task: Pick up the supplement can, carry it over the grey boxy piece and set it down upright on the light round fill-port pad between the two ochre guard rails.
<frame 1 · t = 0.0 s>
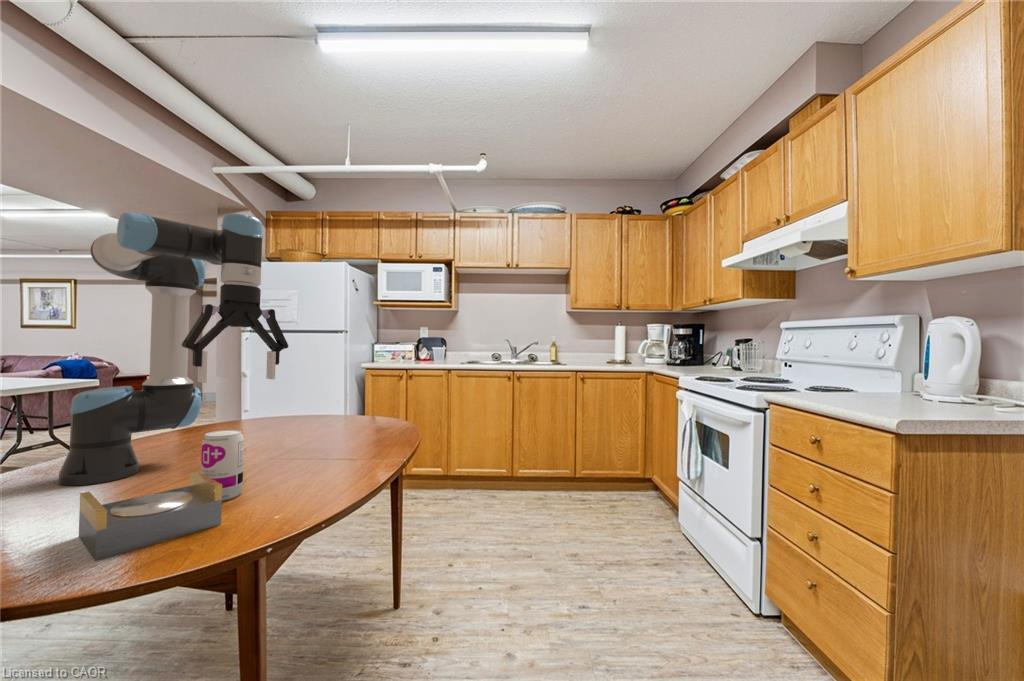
hand: (238, 380, 92), 28 cm above the table, fingers open, 13 cm apart
supplement can: (221, 497, 98), on the table
grey boxy piece: (152, 530, 80), on the table
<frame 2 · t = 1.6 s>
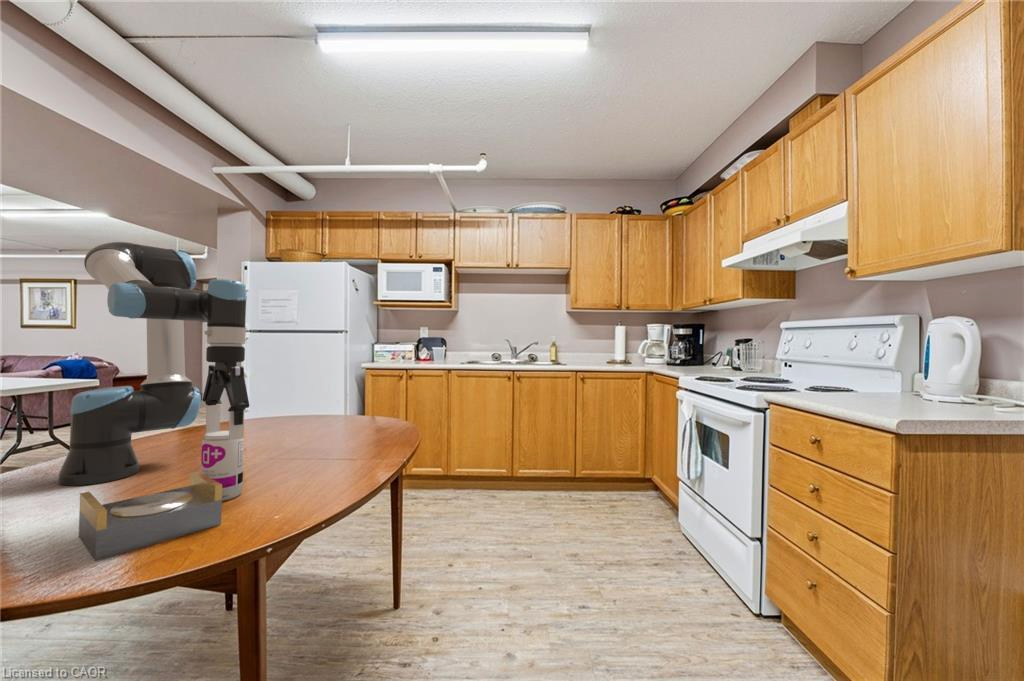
hand: (224, 435, 98), 14 cm above the table, fingers open, 13 cm apart
nothing on the table moved.
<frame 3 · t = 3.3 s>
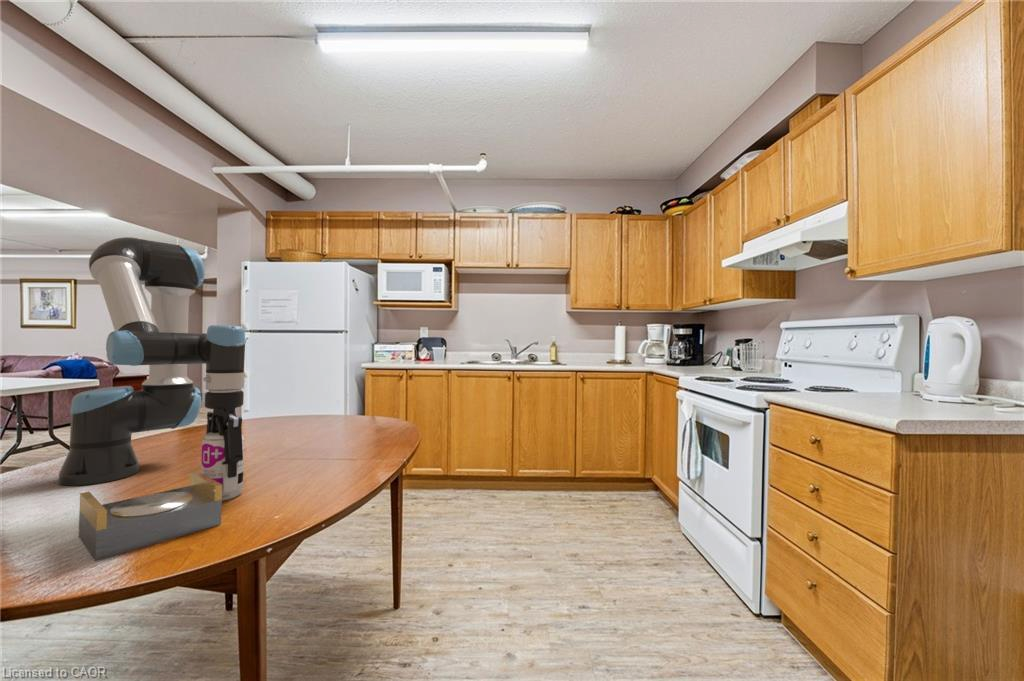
hand: (222, 486, 98), 2 cm above the table, fingers closed on supplement can, 8 cm apart
supplement can: (221, 497, 98), on the table, touching gripper
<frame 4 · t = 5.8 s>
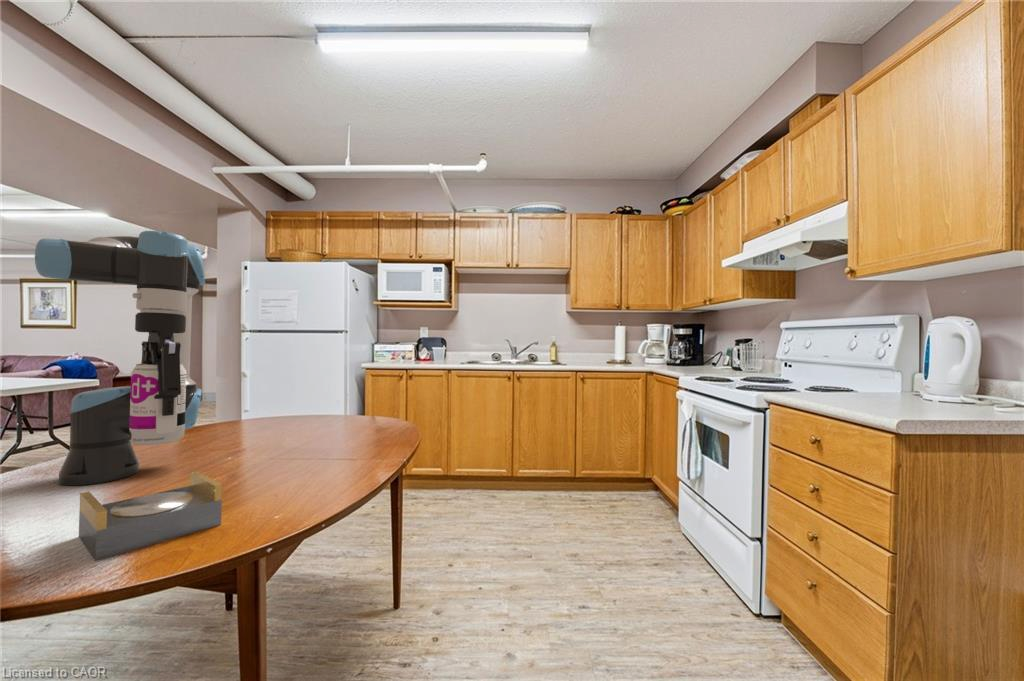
hand: (157, 429, 80), 19 cm above the table, fingers closed on supplement can, 8 cm apart
supplement can: (157, 442, 80), point 17 cm above the table, touching gripper
when the fingers open (8 cm above the table, at t = 8.7 s): supplement can stays where it is, resting on grey boxy piece.
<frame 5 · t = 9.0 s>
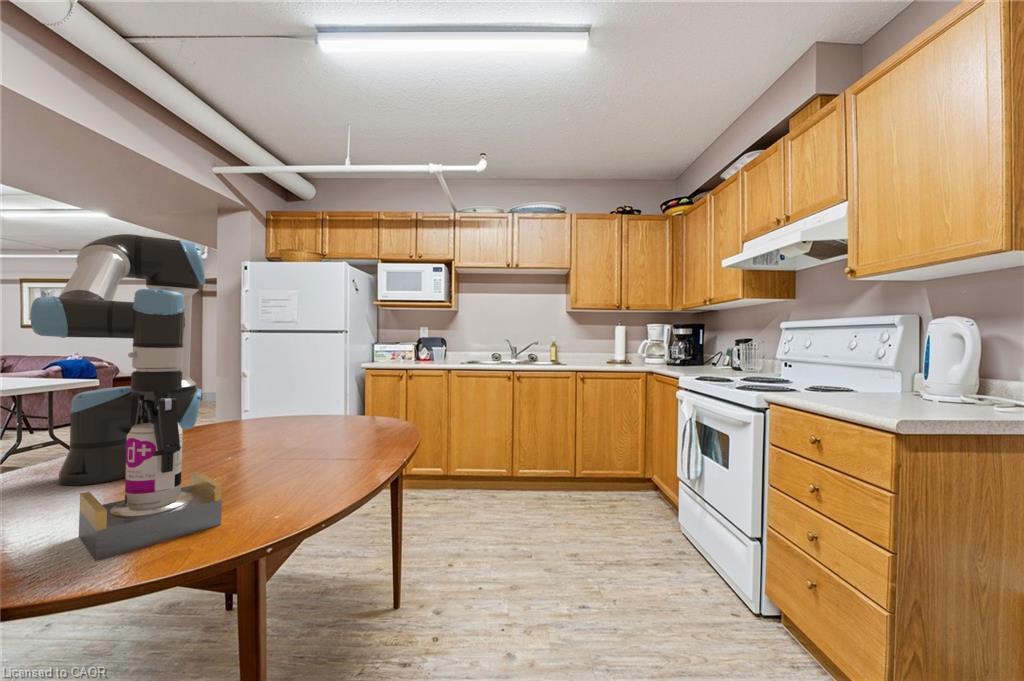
hand: (154, 481, 80), 9 cm above the table, fingers open, 12 cm apart
supplement can: (153, 503, 80), point 5 cm above the table, touching grey boxy piece
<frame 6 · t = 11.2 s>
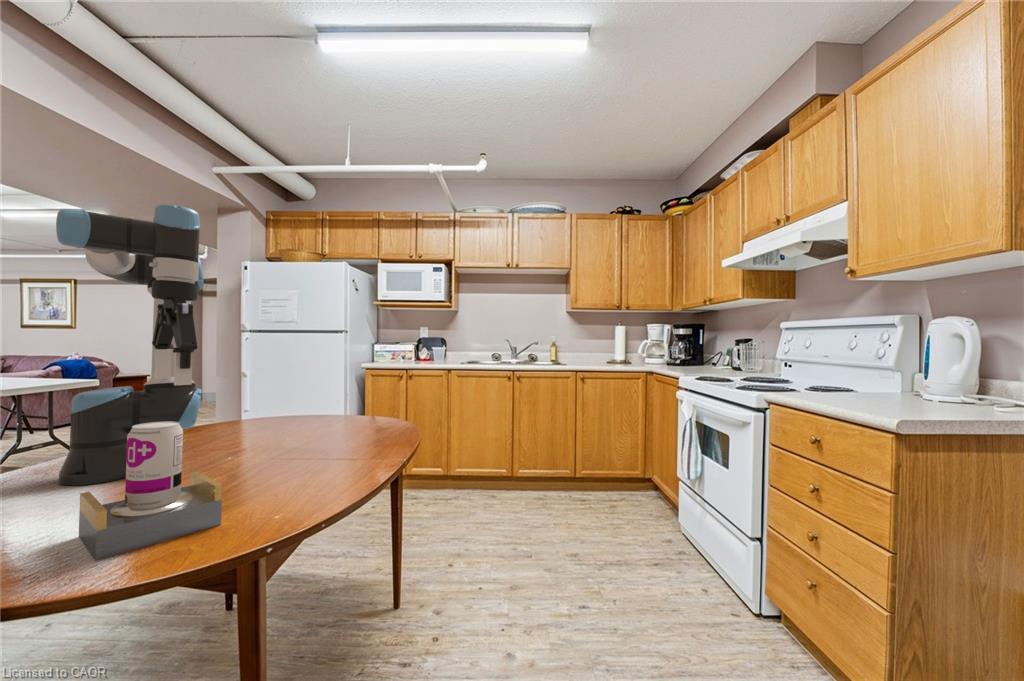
hand: (172, 381, 88), 28 cm above the table, fingers open, 13 cm apart
nothing on the table moved.
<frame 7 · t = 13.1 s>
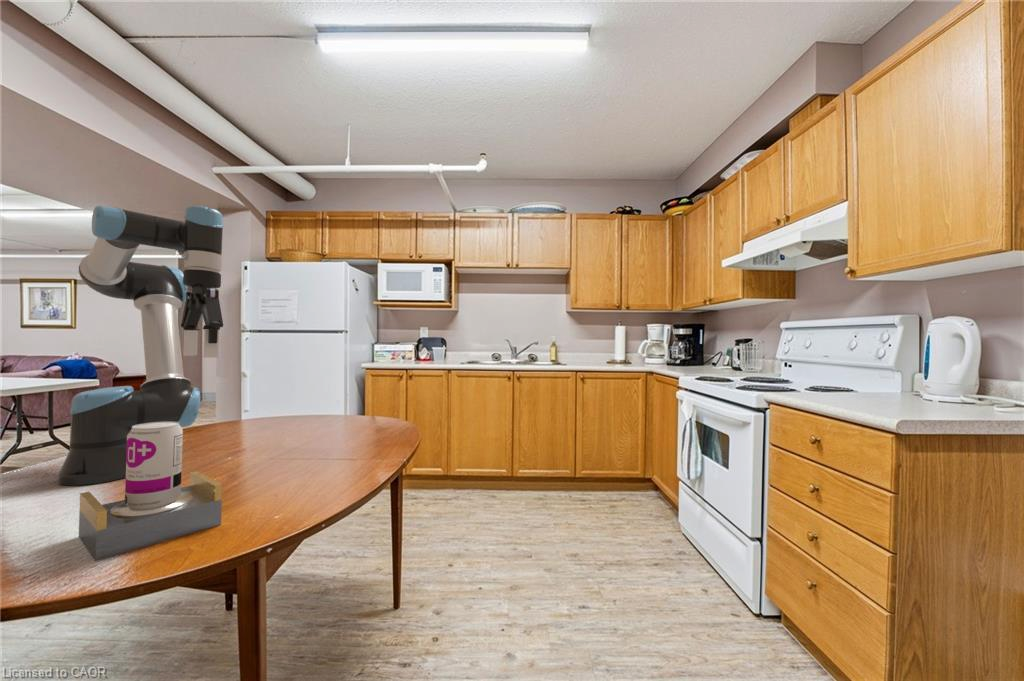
hand: (200, 356, 103), 33 cm above the table, fingers open, 13 cm apart
nothing on the table moved.
at the end: supplement can inside the target area on the grey boxy piece (0.1 cm from its centre), point 5.1 cm above the grey boxy piece's base; supplement can tilted 0°; the gripper is holding nothing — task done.
